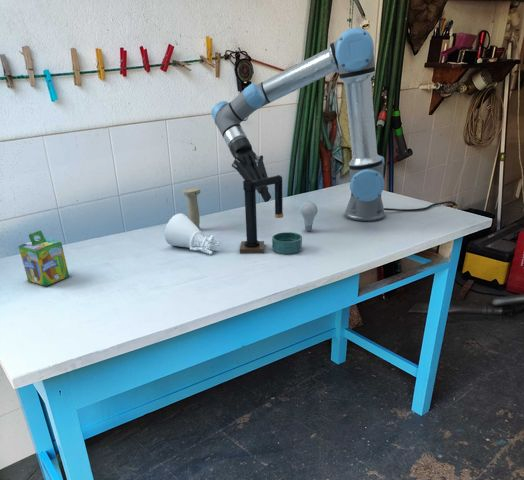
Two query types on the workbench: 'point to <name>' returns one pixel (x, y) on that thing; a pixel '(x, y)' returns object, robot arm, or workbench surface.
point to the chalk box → (43, 260)
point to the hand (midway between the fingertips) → (268, 199)
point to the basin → (287, 242)
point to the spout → (277, 180)
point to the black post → (251, 226)
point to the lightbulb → (308, 214)
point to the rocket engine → (188, 235)
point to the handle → (193, 205)
